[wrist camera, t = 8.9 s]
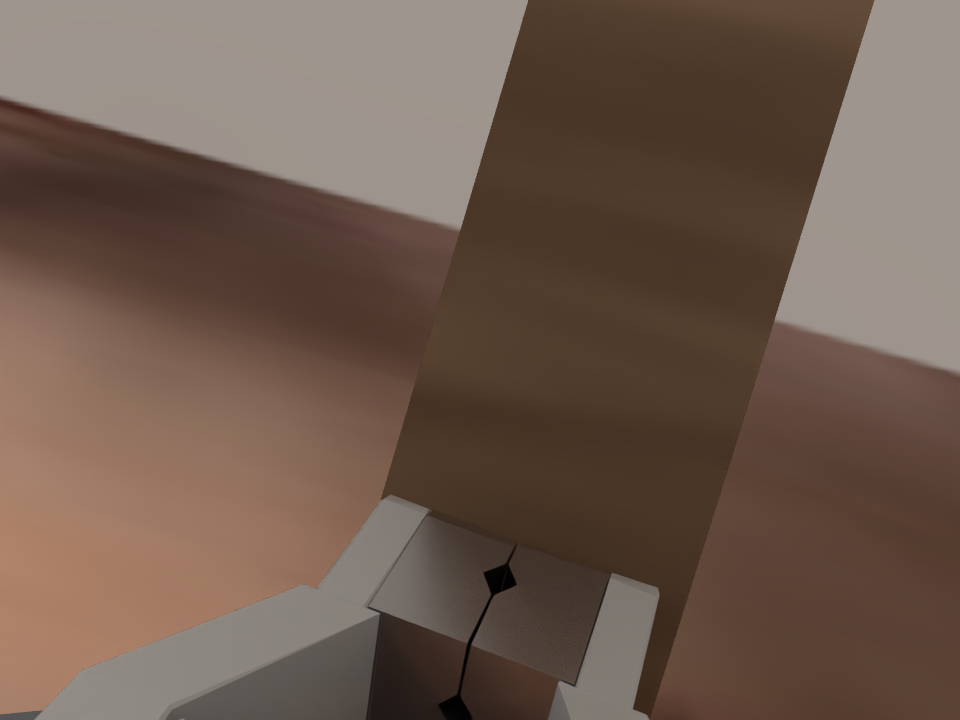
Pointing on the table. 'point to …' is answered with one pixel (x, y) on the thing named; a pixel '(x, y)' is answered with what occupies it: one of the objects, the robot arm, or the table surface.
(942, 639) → the table surface
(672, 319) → the lever
